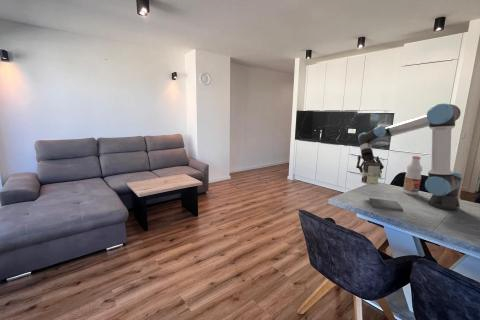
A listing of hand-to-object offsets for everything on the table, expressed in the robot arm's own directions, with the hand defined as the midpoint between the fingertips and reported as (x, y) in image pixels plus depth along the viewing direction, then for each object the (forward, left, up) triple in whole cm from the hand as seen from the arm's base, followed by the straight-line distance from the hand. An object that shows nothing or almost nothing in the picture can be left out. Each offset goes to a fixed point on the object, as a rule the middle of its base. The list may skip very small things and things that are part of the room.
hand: (371, 176), depth 160 cm
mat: (-8, +11, -16) cm, 21 cm away
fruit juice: (-32, -25, -16) cm, 43 cm away
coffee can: (0, -3, -5) cm, 6 cm away
